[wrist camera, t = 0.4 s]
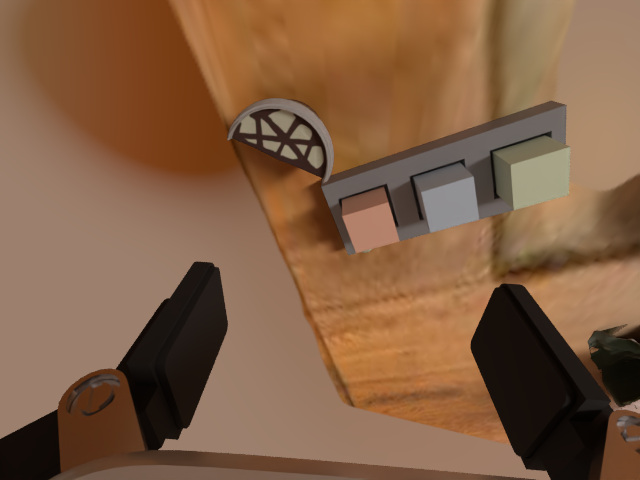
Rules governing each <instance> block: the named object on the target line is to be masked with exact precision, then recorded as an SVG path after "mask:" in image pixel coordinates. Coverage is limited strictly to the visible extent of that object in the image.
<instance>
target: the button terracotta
mask: <svg viewBox="0 0 640 480" xmlns="http://www.w3.org/2000/svg"><path fill="white" fill-rule="evenodd" d="M342 217H343V220H344V223H345V225H346V228H347V230H348V233H349V236H350V238H351V241H352V244H353V246H354V249H355V251H356V253H358V252H362V251H366V250H369V249H373V248H377V247H380V246H384V245H388V244H391V243H395V242H399V237H398V234H397V230H396V227H395V223H394V220H393V216H392V213H391V209H390V206H389V203H388V199H387V196H386V192H385V189H384V187H381V188H377V189H374V190H371V191H368V192H365V193H362V194H359V195H355V196H352V197H349V198H346V199H343V200H342Z"/></svg>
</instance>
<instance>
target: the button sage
mask: <svg viewBox="0 0 640 480" xmlns="http://www.w3.org/2000/svg"><path fill="white" fill-rule="evenodd" d="M493 161H494V172H495V182H496V193H497V194H498V195H499V196H500V197H501V198H502V199H503V200H504V201H505V202H506V203H507V204H508V205H509V206H510V207H511V208H512V209H513V210H516V209H520V208H523V207H527V206H531V205H534V204H538V203H542V202H545V201H549V200H553V199H556V198H560V197H564V196H567V195H569V173H570V172H569V171H570V146H567V145H565V144H563V143H561V142H559V141H556V140H554V139H552V138H550V137H548V136H545V135H544V136H541V137H538V138H535V139H532V140H529V141H525V142H522V143H519V144H516V145H513V146H510V147H507V148H503V149H500V150H497V151H494V152H493Z"/></svg>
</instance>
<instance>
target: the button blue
mask: <svg viewBox="0 0 640 480" xmlns="http://www.w3.org/2000/svg"><path fill="white" fill-rule="evenodd" d="M413 179H414V183H415V187H416V192H417V196H418V200H419V204H420V209H421V213H422V216H423V218H424V220H425V222H426V225H427V227H428V229H429V231H430V233H432V232H435V231H439V230H443V229H446V228H450V227H454V226H457V225H461V224H465V223H468V222H472V221H476V220H479V214H478V207H477V199H476V191H475V184H474V176H473V175H472V174H471V173H470V172H469V171H468V170H467V169H466V168H465V167H464V166H463V165H462V164H461V163H460V162H459V163H456V164H453V165H450V166H447V167H444V168H440V169H437V170H434V171H431V172H428V173H425V174H422V175H418V176H415V177H413Z"/></svg>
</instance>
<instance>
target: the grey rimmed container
mask: <svg viewBox="0 0 640 480" xmlns="http://www.w3.org/2000/svg"><path fill="white" fill-rule="evenodd" d="M227 138H228V140H230V139H232V138H233V139H236V140H237V141H240V142H243V143H245V144H248V145H250V146H252V147H254V148H256V149H258V150H260V151H262V152H264V153H266V154H268V155H270V156H272V157H274V158H276V159H278V160H281V161H283V162H286V163H288V164H291V165H293V166H296V167H298V168H301V169H303V170H305V171H307V172H310V173H312V174H314V175H316V176H319V177H321V178H323V183H324V182H327V180H328V179H329V177H330V174H331V172H332V167H333V160H334V152H333V145H332V141H331V138H330V135H329V133H328V131H327V129H326V127H325V126H324V124H323V123H322V121H321V120H320V119H319V117H318V115H317V114H316V112H315V111H314V110H313V109H312V108H310V107H309V106H308V105H306V104H305V103H303V102H300V101H297V100H288V99H287V100H286V99H278V98H272V99H265V100H261V101H258V102H255V103H253V104H252V105H250V106H248V107H247V108H245V109H244V110H243V111H242V112H241V113H240V114H239V115H238V116H237V117H236V119H235V120H234V122H233V124H232V125H231V127H230V130H229V133H228V136H227Z"/></svg>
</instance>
